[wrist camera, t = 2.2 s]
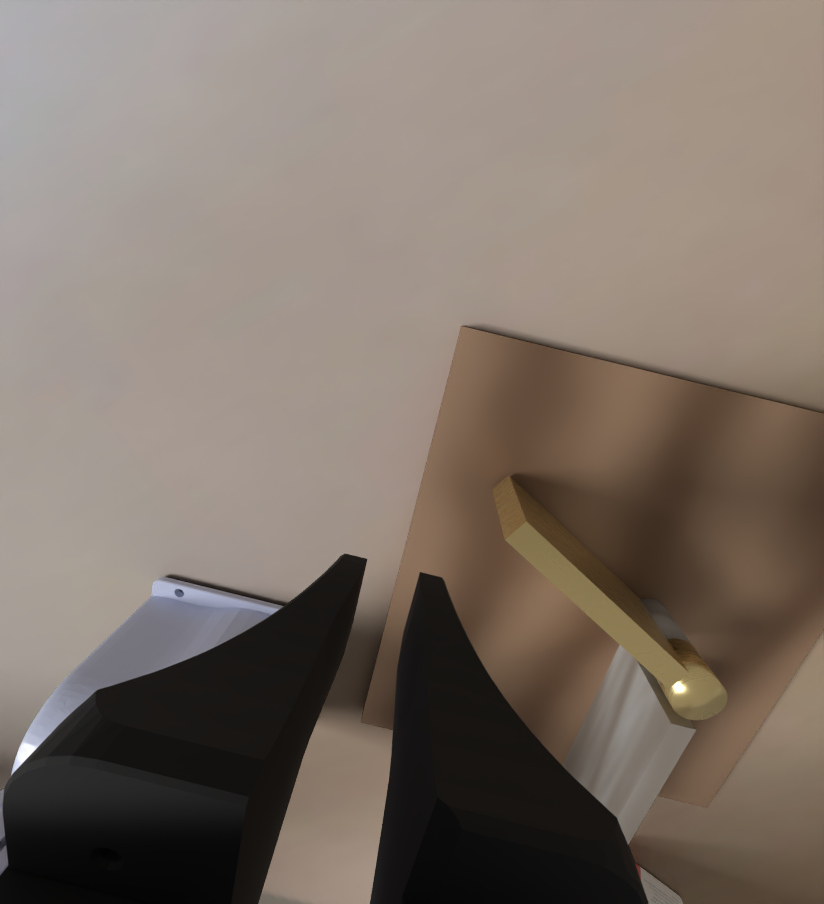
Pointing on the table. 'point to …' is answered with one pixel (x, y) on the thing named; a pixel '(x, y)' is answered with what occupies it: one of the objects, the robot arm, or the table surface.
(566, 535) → the hinge leaf
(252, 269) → the table surface
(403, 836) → the robot arm
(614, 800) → the hinge base
